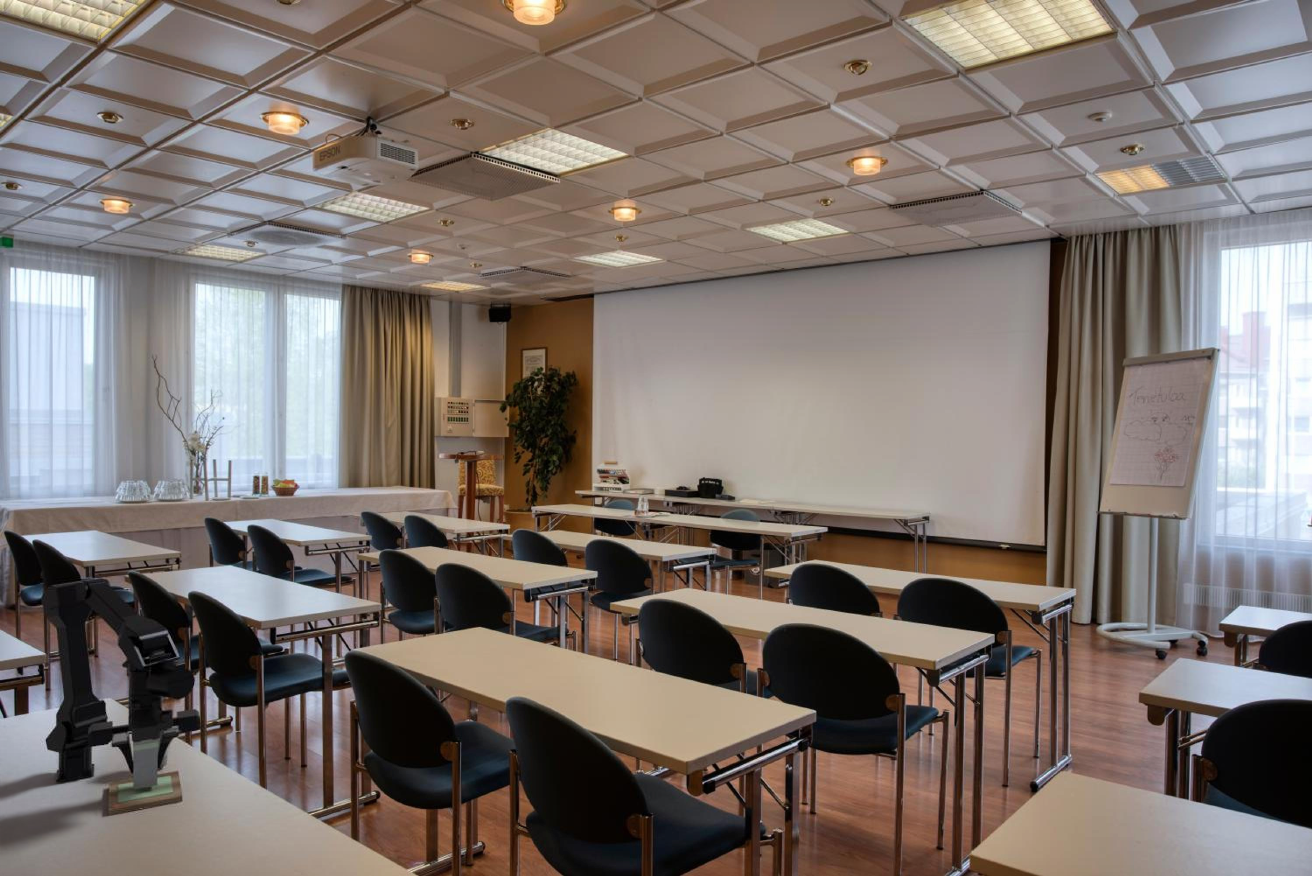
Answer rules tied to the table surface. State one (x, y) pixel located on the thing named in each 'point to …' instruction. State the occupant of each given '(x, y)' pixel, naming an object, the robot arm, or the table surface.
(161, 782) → the stand plate
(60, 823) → the table surface
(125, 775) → the table surface
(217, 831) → the table surface
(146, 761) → the column
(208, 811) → the table surface
